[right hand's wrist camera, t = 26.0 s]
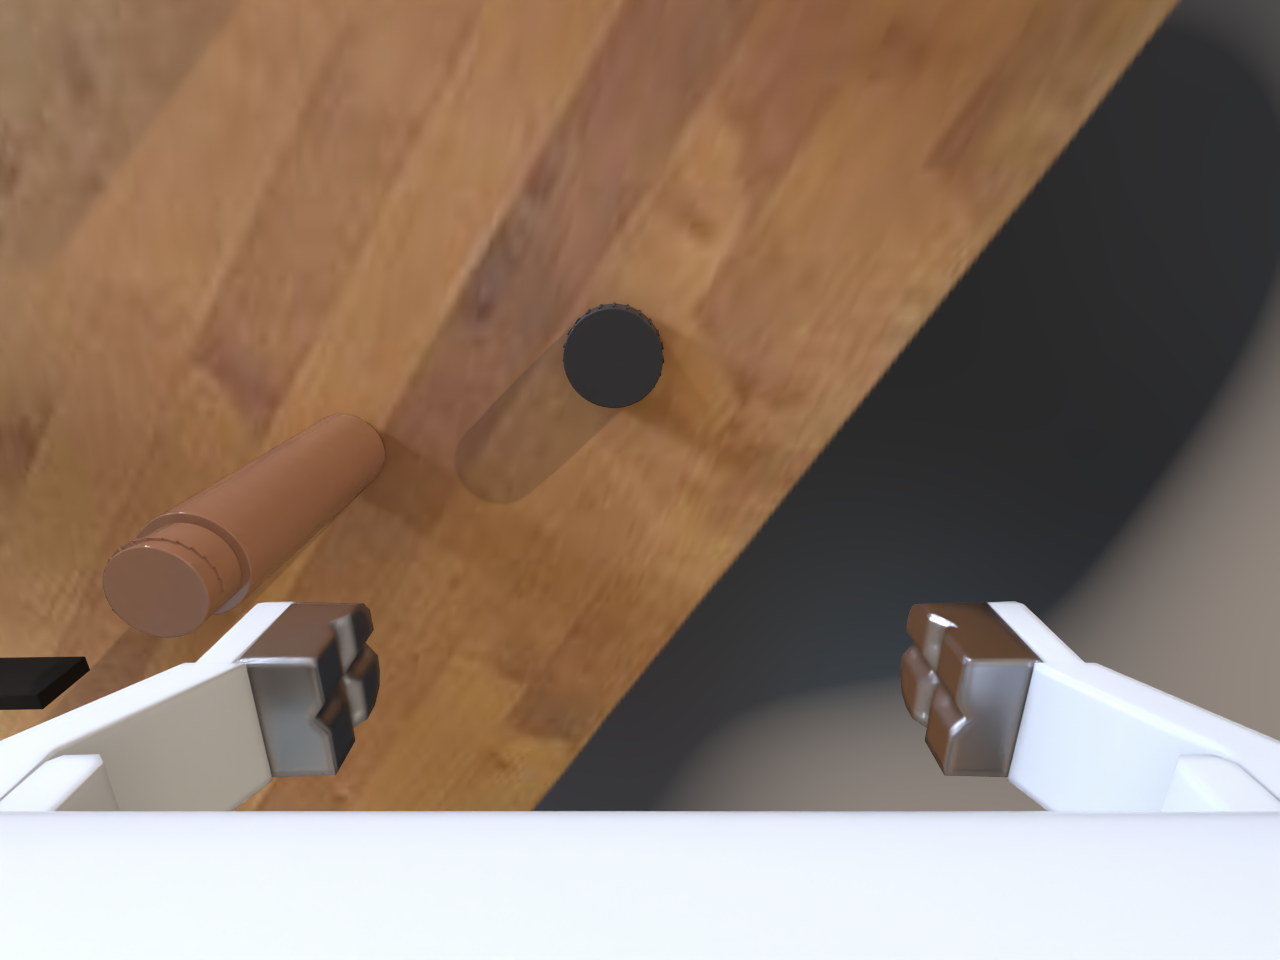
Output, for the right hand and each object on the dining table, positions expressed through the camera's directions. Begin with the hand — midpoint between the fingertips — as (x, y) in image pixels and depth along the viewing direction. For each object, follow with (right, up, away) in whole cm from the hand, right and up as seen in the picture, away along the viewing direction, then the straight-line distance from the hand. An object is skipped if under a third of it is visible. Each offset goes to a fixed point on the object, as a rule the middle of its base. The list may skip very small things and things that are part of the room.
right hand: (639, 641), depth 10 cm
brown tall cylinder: (-16, +4, +27) cm, 31 cm away
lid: (-1, +8, +23) cm, 25 cm away
